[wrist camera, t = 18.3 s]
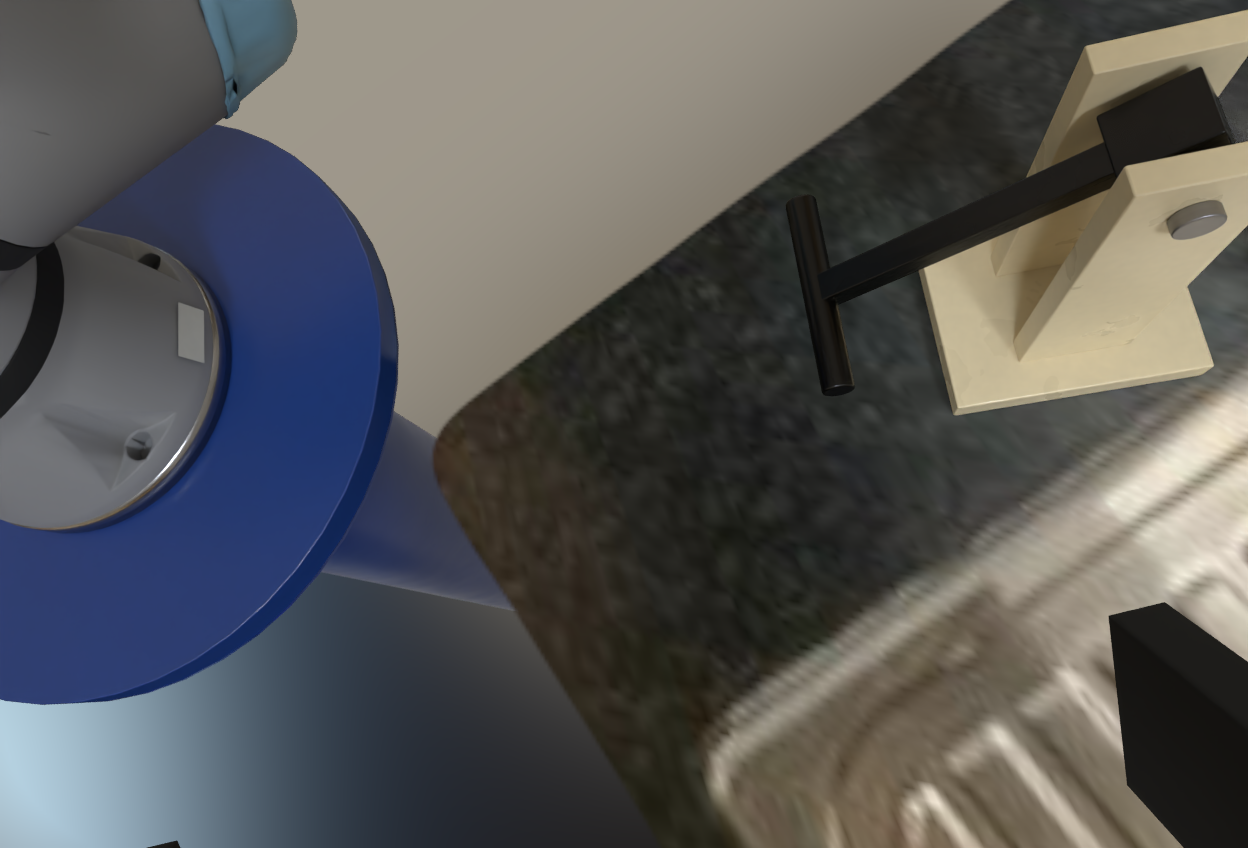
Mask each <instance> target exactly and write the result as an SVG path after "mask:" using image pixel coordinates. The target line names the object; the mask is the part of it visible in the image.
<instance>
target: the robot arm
mask: <svg viewBox="0 0 1248 848" xmlns="http://www.w3.org/2000/svg"><path fill="white" fill-rule="evenodd" d="M296 37H297V19H296V14H295V10H294V7H293V4H292V1H291V0H0V519H1V520H3V521H6V522H8V523H11V524H14V525H17V526H21V527H25V528H30V529H36V530H41V531H47V532H54V533H83V532H90V531H94V530H99V529H103V528H106V527H109V526H112V525H115V524H117V523H120V522H122V521H124V520H126V519H129V518H130V517H132V516H134V515H136V514H138V513H139V512H141V511H143V510H144V509H146V508H147V507H149V506H150V505H152V504H153V503H155V502H156V501H157V500H158V499H160V498H161V497H162V496H163V495H165V494H166V493H167V492H168V491H169V490H170V489H171V488H172V487H173V486H174V485H175V484H176V483H177V482H178V481H179V480H180V479H181V478H182V477H183V476H184V475H185V474H186V472H187V471H188V470H189V469H190V468H191V466H192V465H193V464H194V462H195V461H196V460H197V458H198V457H199V455H200V454H201V452H202V451H203V449H204V448H205V446H206V444H207V443H208V441H209V439H210V437H211V435H212V433H213V431H214V429H215V427H216V425H217V422H218V420H219V418H220V415H221V412H222V409H223V406H224V403H225V400H226V396H227V392H228V388H229V381H230V375H231V361H232V355H231V340H230V333H229V328H228V324H227V320H226V317H225V315H224V312H223V309H222V307H221V305H220V303H219V301H218V299H217V297H216V295H215V294H214V292H213V291H212V289H211V288H210V287H209V285H208V284H207V283H206V282H205V281H204V280H203V278H201V277H200V276H199V275H198V274H197V273H196V272H195V271H194V270H192V269H191V268H189V267H188V266H187V265H185V264H184V263H182V262H181V261H179V260H178V259H176V258H174V257H173V256H171V255H170V254H168V253H167V252H165V251H163V250H161V249H159V248H157V247H154V246H152V245H149V244H147V243H144V242H142V241H140V240H137V239H134V238H130V237H127V236H122V235H117V234H113V233H108V232H103V231H99V230H94V229H89V228H85V227H80V226H76V225H78V224H79V223H80V222H82V221H83V220H85V219H86V218H87V217H89V216H90V215H91V214H93V213H94V212H95V211H97V210H98V209H100V208H101V207H102V206H104V205H105V204H106V203H108V202H109V201H111V200H112V199H113V198H115V197H116V196H117V195H119V194H120V193H121V192H123V191H124V190H126V189H127V188H128V187H130V186H131V185H132V184H134V183H135V182H136V181H138V180H139V179H141V178H142V177H143V176H145V175H146V174H147V173H149V172H150V171H151V170H153V169H154V168H156V167H157V166H158V165H160V164H161V163H162V162H164V161H165V160H166V159H168V158H169V157H171V156H172V155H173V154H175V153H176V152H177V151H179V150H180V149H182V148H183V147H184V146H186V145H187V144H188V143H190V142H191V141H192V140H194V139H195V138H197V137H198V136H199V135H201V134H202V133H203V132H205V131H206V130H207V129H209V128H210V127H212V126H213V125H214V124H216V123H217V122H218V121H220V120H221V119H222V118H225V119H228V118H230V117H231V116H232V115H233V113H234V112H236V111H237V110H238V108H239V105H240V101H241V100H242V99H243V98H245V97H246V96H247V95H248V94H249V93H250V92H251V91H253V90H254V89H255V88H256V87H257V86H259V85H260V84H261V83H262V82H263V81H265V80H266V79H267V78H268V77H269V76H270V75H272V74H273V73H274V72H275V71H277V70H278V69H279V68H280V67H281V66H282V65H284V63H285V62H286V61H287V58H288V56H289V55H290V53H291V52H292V48H293V45H294V43H295V41H296ZM1109 624H1110V633H1111V642H1112V651H1113V660H1114V669H1115V679H1116V688H1117V697H1118V706H1119V715H1120V724H1121V733H1122V742H1123V751H1124V760H1125V769H1126V778H1127V785H1128V786H1129V788H1130V789H1131V790H1132V791H1133V792H1134V793H1135V794H1136V795H1137V796H1138V797H1139V799H1140V800H1141V801H1142V802H1143V803H1144V804H1145V805H1146V806H1147V807H1148V809H1149V810H1150V811H1151V812H1152V813H1153V814H1154V815H1155V816H1156V817H1157V819H1158V820H1159V821H1160V822H1161V823H1162V824H1163V825H1164V826H1165V827H1166V829H1167V830H1168V831H1169V832H1170V833H1171V834H1172V835H1173V836H1174V837H1175V838H1176V840H1177V841H1178V842H1179V843H1180V844H1181V845H1182V846H1183V847H1184V848H1248V662H1247V661H1246V660H1244V659H1243V658H1242V657H1240V656H1239V655H1237V654H1236V653H1235V652H1233V651H1232V650H1230V649H1229V648H1228V647H1226V646H1225V645H1223V644H1222V643H1221V642H1219V641H1218V640H1217V639H1215V638H1214V637H1212V636H1211V635H1210V634H1208V633H1207V632H1205V631H1204V630H1203V629H1201V628H1200V627H1198V626H1197V625H1196V624H1194V623H1193V622H1191V621H1190V620H1189V619H1187V618H1186V617H1184V616H1183V615H1182V614H1180V613H1179V612H1178V611H1176V610H1175V609H1173V608H1172V607H1171V606H1169V605H1168V604H1166V603H1165V602H1164V603H1160V604H1156V605H1151V606H1147V607H1143V608H1139V609H1135V610H1131V611H1127V612H1122V613H1118V614H1114V615H1110V616H1109ZM148 848H180V846H179V844H178V841H173V842H169V843H165V844H161V845H157V846H152V847H148Z"/></svg>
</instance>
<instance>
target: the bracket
mask: <svg viewBox="0 0 1248 848" xmlns="http://www.w3.org/2000/svg"><path fill="white" fill-rule="evenodd" d="M1247 56H1248V10H1245V11H1240V12H1236V13H1231V14H1227V15H1222V16H1218V17H1213V18H1209V19H1204V20H1200V21H1196V22H1191V23H1187V24H1182V25H1178V26H1173V27H1169V28H1164V29H1160V30H1155V31H1151V32H1146V33H1142V34H1137V35H1133V36H1128V37H1124V38H1119V39H1115V40H1110V41H1106V42H1101V43H1097V44H1092V45H1088V46H1085V48H1084V50H1083V52H1082V54H1081V56H1080V59H1079V61H1078V63H1077V65H1076V68H1075V70H1074V72H1073V74H1072V77H1071V79H1070V81H1069V83H1068V85H1067V88H1066V90H1065V92H1064V94H1063V97H1062V99H1061V101H1060V103H1059V105H1058V108H1057V110H1056V112H1055V114H1054V117H1053V119H1052V121H1051V123H1050V126H1049V128H1048V130H1047V132H1046V134H1045V137H1044V139H1043V141H1042V143H1041V146H1040V148H1039V150H1038V152H1037V154H1036V157H1035V159H1034V161H1033V163H1032V166H1031V168H1030V170H1029V172H1028V175H1027V177H1029V176H1031V175H1033V174H1036V173H1038V172H1040V171H1042V170H1044V169H1046V168H1049V167H1051V166H1053V165H1055V164H1057V163H1059V162H1062V161H1064V160H1066V159H1068V158H1070V157H1072V156H1075V155H1077V154H1079V153H1081V152H1083V151H1085V150H1088V149H1090V148H1092V147H1094V146H1096V145H1098V144H1101V143H1103V142H1104V141H1103V138H1102V135H1101V132H1100V129H1099V125H1098V122H1097V119H1096V118H1097V116H1098V115H1100V114H1102V113H1104V112H1106V111H1108V110H1110V109H1112V108H1114V107H1116V106H1118V105H1121V104H1123V103H1125V102H1127V101H1129V100H1131V99H1133V98H1135V97H1137V96H1139V95H1141V94H1143V93H1146V92H1148V91H1150V90H1152V89H1154V88H1156V87H1158V86H1160V85H1162V84H1164V83H1166V82H1168V81H1170V80H1173V79H1175V78H1177V77H1179V76H1181V75H1183V74H1185V73H1187V72H1189V71H1191V70H1193V69H1195V68H1197V67H1202V68H1203V69H1204V71H1205V73H1206V75H1207V77H1208V79H1209V81H1210V83H1211V85H1212V87H1213V89H1214V91H1215V93H1216V95H1217V97H1218V96H1219V95H1220V94H1221V92H1222V91H1223V89H1224V88H1225V87H1226V85H1227V84H1228V82H1229V81H1230V80H1231V78H1232V77H1233V76H1234V74H1235V73H1236V71H1237V70H1238V69H1239V67H1240V66H1241V64H1242V63H1243V62H1244V60H1245V59H1246V58H1247ZM1027 177H1026V178H1027ZM1247 225H1248V141H1247V142H1242V143H1237V144H1232V145H1227V146H1222V147H1217V148H1212V149H1207V150H1202V151H1197V152H1192V153H1187V154H1182V155H1178V156H1173V157H1168V158H1163V159H1158V160H1153V161H1148V162H1143V163H1138V164H1133V165H1128V166H1125V167H1124V168H1123V170H1122V171H1121V173H1120V175H1119V176H1118V178H1117V179H1116V181H1115V183H1114V184H1113V186H1112V187H1111V188H1110V189H1108V190H1106V191H1103V192H1101V193H1099V194H1096V195H1094V196H1092V197H1089V198H1087V199H1085V200H1082V201H1080V202H1078V203H1075V204H1073V205H1071V206H1068V207H1066V208H1064V209H1061V210H1059V211H1057V212H1054V213H1052V214H1050V215H1047V216H1045V217H1043V218H1040V219H1038V220H1035V221H1033V222H1031V223H1028V224H1026V225H1024V226H1021V227H1019V228H1017V229H1014V230H1012V231H1010V232H1007V233H1005V234H1003V235H1000V236H998V237H996V238H993V239H991V240H989V241H986V242H984V243H982V244H979V245H977V246H975V247H972V248H970V249H968V250H965V251H963V252H961V253H958V254H956V255H954V256H951V257H949V258H947V259H944V260H942V261H939V262H937V263H935V264H932V265H930V266H928V267H925V268H923V269H921V270H919V274H920V279H921V283H922V287H923V291H924V295H925V299H926V304H927V308H928V312H929V316H930V320H931V324H932V328H933V333H934V337H935V341H936V345H937V349H938V353H939V357H940V362H941V366H942V370H943V374H944V378H945V382H946V387H947V391H948V395H949V399H950V403H951V407H952V411H953V414H954V415H962V414H968V413H974V412H980V411H986V410H992V409H998V408H1004V407H1010V406H1016V405H1022V404H1028V403H1034V402H1041V401H1047V400H1053V399H1059V398H1065V397H1071V396H1077V395H1083V394H1089V393H1095V392H1101V391H1107V390H1114V389H1120V388H1126V387H1132V386H1138V385H1144V384H1150V383H1156V382H1162V381H1168V380H1174V379H1180V378H1187V377H1193V376H1199V375H1202V374H1204V373H1205V372H1206V371H1208V370H1209V369H1210V368H1212V367H1213V366H1214V363H1213V360H1212V358H1211V355H1210V352H1209V349H1208V346H1207V343H1206V340H1205V337H1204V334H1203V331H1202V328H1201V325H1200V322H1199V319H1198V316H1197V313H1196V310H1195V307H1194V304H1193V302H1192V299H1191V296H1190V293H1189V290H1188V287H1187V286H1188V285H1189V284H1190V283H1191V282H1192V281H1193V280H1194V279H1195V278H1196V277H1197V276H1198V275H1199V274H1200V273H1201V272H1202V271H1203V270H1204V269H1205V268H1206V267H1207V266H1208V265H1209V264H1210V263H1211V262H1212V261H1213V260H1214V259H1215V258H1216V257H1217V256H1218V255H1219V254H1220V253H1221V252H1222V251H1223V250H1224V249H1225V248H1226V247H1227V246H1228V245H1229V244H1230V243H1231V242H1232V241H1233V240H1234V239H1235V238H1236V237H1237V236H1238V235H1239V233H1240V232H1241V231H1242V230H1243V229H1244V228H1245V227H1246V226H1247Z"/></svg>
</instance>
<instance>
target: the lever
mask: <svg viewBox="0 0 1248 848" xmlns="http://www.w3.org/2000/svg"><path fill="white" fill-rule="evenodd" d="M1096 119H1097V122H1098V125H1099V129H1100V132H1101V135H1102V138H1103V141H1104V142H1103V143H1101V144H1098V145H1096V146H1094V147H1092V148H1090V149H1088V150H1085V151H1083V152H1081V153H1079V154H1077V155H1075V156H1072V157H1070V158H1068V159H1066V160H1064V161H1062V162H1059V163H1057V164H1055V165H1053V166H1051V167H1049V168H1046V169H1044V170H1042V171H1040V172H1038V173H1036V174H1033V175H1031V176H1029V177H1027V178H1025V179H1023V180H1020V181H1018V182H1016V183H1014V184H1012V185H1010V186H1007V187H1005V188H1003V189H1001V190H999V191H997V192H994V193H992V194H990V195H988V196H986V197H984V198H981V199H979V200H977V201H975V202H973V203H970V204H968V205H966V206H964V207H962V208H960V209H957V210H955V211H953V212H951V213H949V214H947V215H944V216H942V217H940V218H938V219H936V220H934V221H931V222H929V223H927V224H925V225H923V226H921V227H918V228H916V229H914V230H912V231H910V232H908V233H905V234H903V235H901V236H899V237H897V238H895V239H892V240H890V241H888V242H886V243H884V244H882V245H879V246H877V247H875V248H873V249H871V250H869V251H866V252H864V253H862V254H860V255H858V256H856V257H853V258H851V259H849V260H847V261H845V262H843V263H840V264H838V265H836V266H834V267H832V268H830V265H829V260H828V255H827V250H826V245H825V241H824V236H823V231H822V226H821V221H820V217H819V212H818V207H817V202H816V199H815V197H814V196H812V195H799V196H796V197H794V198H792V199H790V200H789V201H788V202H787V204H786V211H787V216H788V221H789V226H790V232H791V237H792V242H793V247H794V252H795V257H796V262H797V267H798V272H799V278H800V283H801V288H802V293H803V298H804V303H805V308H806V313H807V318H808V323H809V329H810V334H811V339H812V344H813V349H814V354H815V359H816V364H817V369H818V374H819V380H820V385H821V390H822V393H823V395H825V396H838V395H843V394H846V393H849V392H851V391H852V390H854V388H855V385H854V380H853V375H852V370H851V365H850V361H849V356H848V351H847V346H846V341H845V337H844V332H843V327H842V322H841V317H840V313H839V308H838V305H839V304H841V303H843V302H846V301H848V300H851V299H853V298H855V297H858V296H860V295H862V294H865V293H867V292H869V291H872V290H874V289H876V288H879V287H881V286H883V285H886V284H888V283H890V282H893V281H895V280H897V279H900V278H902V277H904V276H907V275H909V274H911V273H914V272H916V271H918V270H921V269H923V268H925V267H928V266H930V265H932V264H935V263H937V262H939V261H942V260H944V259H947V258H949V257H951V256H954V255H956V254H958V253H961V252H963V251H965V250H968V249H970V248H972V247H975V246H977V245H979V244H982V243H984V242H986V241H989V240H991V239H993V238H996V237H998V236H1000V235H1003V234H1005V233H1007V232H1010V231H1012V230H1014V229H1017V228H1019V227H1021V226H1024V225H1026V224H1028V223H1031V222H1033V221H1035V220H1038V219H1040V218H1043V217H1045V216H1047V215H1050V214H1052V213H1054V212H1057V211H1059V210H1061V209H1064V208H1066V207H1068V206H1071V205H1073V204H1075V203H1078V202H1080V201H1082V200H1085V199H1087V198H1089V197H1092V196H1094V195H1096V194H1099V193H1101V192H1103V191H1106V190H1108V189H1110V188H1111V187H1112V186H1113V184H1114V183H1115V181H1116V179H1117V178H1118V176H1119V175H1120V173H1121V171H1122V170H1123V168H1124V167H1125V166H1128V165H1133V164H1138V163H1143V162H1148V161H1153V160H1158V159H1163V158H1168V157H1173V156H1178V155H1182V154H1187V153H1192V152H1197V151H1202V150H1207V149H1212V148H1217V147H1222V146H1227V145H1232V144H1236V143H1235V141H1234V138H1233V136H1232V133H1231V130H1230V128H1229V125H1228V122H1227V120H1226V117H1225V114H1224V112H1223V109H1222V106H1221V104H1220V101H1219V99H1218V97H1217V95H1216V93H1215V91H1214V89H1213V87H1212V85H1211V83H1210V81H1209V79H1208V77H1207V75H1206V73H1205V71H1204V69H1203V68H1202V67H1197V68H1195V69H1193V70H1191V71H1189V72H1187V73H1185V74H1183V75H1181V76H1179V77H1177V78H1175V79H1173V80H1170V81H1168V82H1166V83H1164V84H1162V85H1160V86H1158V87H1156V88H1154V89H1152V90H1150V91H1148V92H1146V93H1143V94H1141V95H1139V96H1137V97H1135V98H1133V99H1131V100H1129V101H1127V102H1125V103H1123V104H1121V105H1118V106H1116V107H1114V108H1112V109H1110V110H1108V111H1106V112H1104V113H1102V114H1100V115H1098V116H1097V118H1096Z"/></svg>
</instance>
